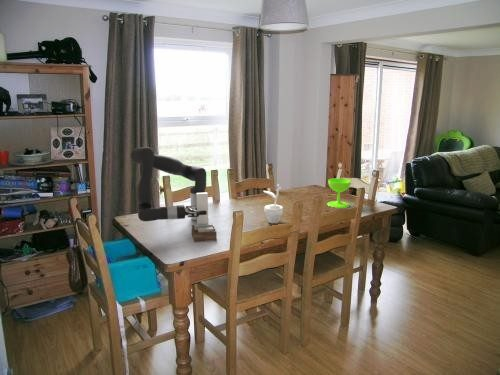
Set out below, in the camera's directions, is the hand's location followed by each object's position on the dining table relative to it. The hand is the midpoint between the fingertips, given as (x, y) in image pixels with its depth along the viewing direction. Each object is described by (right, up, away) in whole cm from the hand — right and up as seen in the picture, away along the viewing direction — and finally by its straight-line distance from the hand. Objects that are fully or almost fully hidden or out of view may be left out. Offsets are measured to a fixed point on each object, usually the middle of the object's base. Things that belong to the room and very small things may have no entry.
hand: (205, 210), depth 216 cm
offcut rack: (-1, -15, -1) cm, 15 cm away
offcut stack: (0, -13, -4) cm, 14 cm away
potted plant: (+39, -9, +24) cm, 47 cm away
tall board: (-2, -12, +2) cm, 12 cm away
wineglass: (+88, 0, +62) cm, 107 cm away
